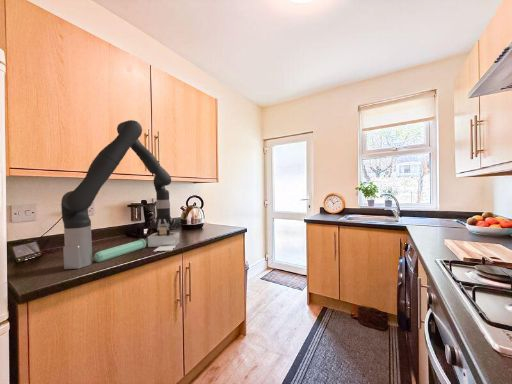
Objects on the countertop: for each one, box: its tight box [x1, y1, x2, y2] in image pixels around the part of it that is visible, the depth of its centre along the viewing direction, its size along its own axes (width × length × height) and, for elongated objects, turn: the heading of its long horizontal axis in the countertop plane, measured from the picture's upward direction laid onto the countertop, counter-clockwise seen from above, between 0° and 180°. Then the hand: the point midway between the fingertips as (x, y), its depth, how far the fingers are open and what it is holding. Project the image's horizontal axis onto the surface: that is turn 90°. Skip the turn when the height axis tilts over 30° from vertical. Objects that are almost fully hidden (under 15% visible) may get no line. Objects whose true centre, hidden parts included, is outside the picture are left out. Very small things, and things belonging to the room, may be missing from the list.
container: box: [93, 238, 147, 263], centre depth 112 cm, size 6×6×25 cm
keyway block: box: [147, 231, 180, 248], centre depth 131 cm, size 10×15×6 cm, turn 94°
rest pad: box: [152, 245, 177, 253], centre depth 120 cm, size 9×9×1 cm
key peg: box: [159, 224, 167, 236], centre depth 131 cm, size 4×4×10 cm
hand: (163, 235), depth 130 cm, fingers closed on key peg, 4 cm apart
